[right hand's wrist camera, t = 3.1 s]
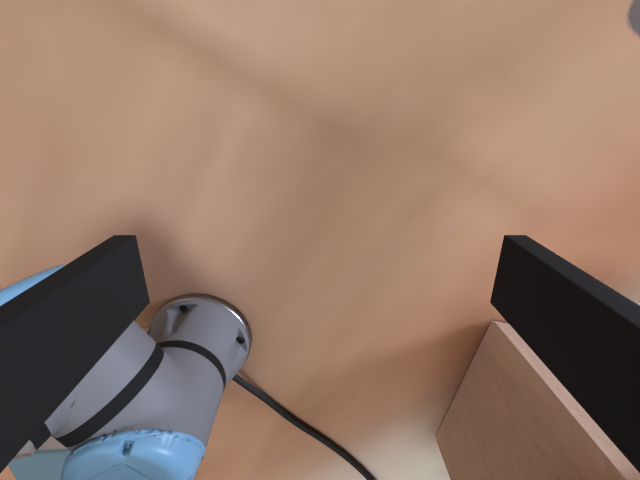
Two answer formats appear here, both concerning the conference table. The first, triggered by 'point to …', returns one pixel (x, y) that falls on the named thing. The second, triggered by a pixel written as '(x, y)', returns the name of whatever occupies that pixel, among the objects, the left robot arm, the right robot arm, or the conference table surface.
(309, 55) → the conference table surface
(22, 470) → the book
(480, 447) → the box
